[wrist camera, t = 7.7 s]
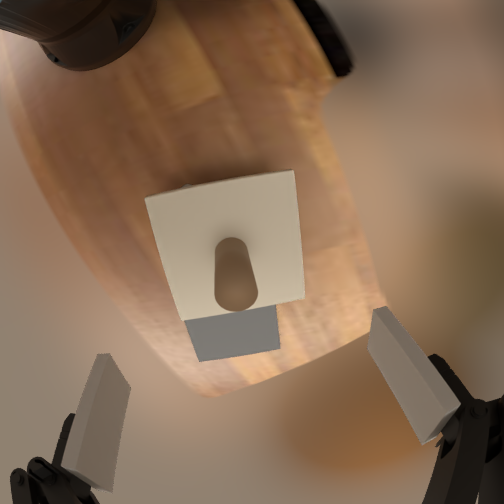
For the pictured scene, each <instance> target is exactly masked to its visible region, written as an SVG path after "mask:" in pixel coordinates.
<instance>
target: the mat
mask: <svg viewBox="0 0 504 504" xmlns="http://www.w3.org/2000/svg"><path fill="white" fill-rule="evenodd" d="M184 321H185V324H186V326H187V329H188V332H189V335H190V338H191V341H192V344H193V346H194V349H195V352H196V354H197V357H198V360H199V362H201V361H209V360H217V359H224V358H230V357H237V356H243V355H249V354H255V353H260V352H266V351H271V350H276V349H280V340H279V331H278V321H277V312H276V304H275V305H270V306H265V307H260V308H255V309H249V310H244V311H239V312H233V313H227V314H221V315H215V316H209V317H203V318H197V319H190V320H184Z"/></svg>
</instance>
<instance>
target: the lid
mask: <svg viewBox="0 0 504 504" xmlns="http://www.w3.org/2000/svg"><path fill="white" fill-rule="evenodd" d="M144 199H145V203H146V207H147V211H148V215H149V218H150V222H151V226H152V230H153V233H154V237H155V240H156V244H157V247H158V251H159V254H160V258H161V261H162V264H163V267H164V271H165V274H166V277H167V280H168V283H169V286H170V289H171V292H172V295H173V298H174V301H175V304H176V307H177V310H178V313H179V316H180V319H181V321H184V320H190V319H197V318H203V317H209V316H215V315H221V314H227V313H233V312H239V311H244V310H249V309H255V308H260V307H265V306H270V305H275V304H280V303H285V302H290V301H295V300H300V299H304V298H305V287H304V272H303V258H302V246H301V234H300V223H299V212H298V202H297V193H296V184H295V175H294V170H292V169H287V170H280V171H273V172H266V173H260V174H254V175H247V176H241V177H236V178H230V179H224V180H219V181H214V182H208V183H203V184H198V185H193V186H188V187H184V188H179V189H174V190H170V191H166V192H161V193H157V194H153V195H148V196H146V197H145V198H144Z"/></svg>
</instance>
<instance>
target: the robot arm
mask: <svg viewBox="0 0 504 504" xmlns="http://www.w3.org/2000/svg"><path fill="white" fill-rule="evenodd" d="M155 10H156V0H0V29H2V30H5V31H9V32H12V33H15V34H18V35H21V36H24V37H27V38H30V39H33V40H36V41H37V42H38V43H39V45H40V46H41V48H42V49H43V51H44V52H45V54H46V55H47V57H48V58H49V59H50V60H51V61H52V62H53V63H55V64H56V65H58V66H61V67H63V68H66V69H69V70H74V71H86V70H92V69H95V68H98V67H101V66H104V65H106V64H108V63H110V62H112V61H114V60H115V59H117V58H119V57H120V56H122V55H123V54H124V53H126V52H127V51H128V50H129V49H130V48H132V47H133V46H134V45H135V44H136V43H137V42H138V41H139V39H140V38H141V37H142V36H143V35H144V33H145V32H146V30H147V29H148V27H149V26H150V24H151V22H152V19H153V17H154V14H155ZM367 349H368V351H369V353H370V355H371V356H372V358H373V360H374V361H375V363H376V365H377V366H378V368H379V369H380V371H381V373H382V375H383V376H384V378H385V380H386V381H387V383H388V385H389V387H390V388H391V390H392V392H393V394H394V395H395V397H396V399H397V401H398V402H399V404H400V406H401V408H402V410H403V411H404V413H405V415H406V417H407V419H408V420H409V422H410V424H411V426H412V428H413V430H414V431H415V433H416V435H417V437H418V439H419V441H420V443H421V445H423V444H425V443H427V442H428V441H431V440H432V439H434V438H436V437H437V435H438V434H439V433H440V432H442V434H443V437H442V438H441V439H440V440H439V441H438V442H437V444H436V446H435V447H438V446H439V445H440V449H439V452H438V456H437V460H436V463H435V467H434V470H433V474H432V477H431V480H430V483H429V486H428V489H427V492H426V494H425V498H424V500H423V502H422V504H475V503H476V499H477V495H478V492H479V498H478V504H504V395H503V396H502V397H501V398H499V399H495V400H492V401H489V402H485V401H484V400H480V399H474V398H473V397H472V396H471V394H470V393H469V392H468V390H467V389H466V388H465V386H464V385H463V384H462V382H461V381H460V379H459V378H458V377H457V376H456V375H455V373H454V372H453V370H452V369H450V366H449V365H448V364H447V363H446V361H445V360H444V359H443V358H441V357H440V356H438V355H437V354H433V355H430V356H428V357H427V356H426V355H425V354H424V352H423V351H422V350H421V348H420V347H419V346H418V344H417V343H416V342H415V341H414V340H413V338H412V337H411V336H410V334H409V333H408V332H407V331H406V329H405V328H404V327H403V326H402V324H401V323H400V322H399V321H398V319H397V318H396V317H395V316H394V315H393V313H392V312H391V311H390V310H389V309H388V307H387V306H384V307H381V308H377V309H373V315H372V322H371V328H370V335H369V341H368V346H367ZM130 391H131V387H130V385H129V384H128V382H127V381H126V379H125V378H124V376H123V374H122V373H121V371H120V370H119V368H118V366H117V365H116V363H115V361H114V360H113V358H112V356H111V355H110V354H97V357H96V359H95V362H94V365H93V367H92V370H91V372H90V375H89V377H88V380H87V383H86V385H85V388H84V391H83V394H82V397H81V399H80V403H79V405H78V408H77V411H76V414H73V413H70V414H69V416H68V417H67V418H66V420H65V421H64V424H63V427H62V432H61V433H60V439H59V440H58V443H57V447H56V450H55V454H54V458H53V461H52V464H50V463H49V462H47V461H46V460H45V459H43V458H42V457H35V458H33V459H31V460H30V462H29V463H28V466H27V472H26V471H25V470H23V469H21V468H17V469H15V470H13V472H12V473H11V476H10V484H11V493H12V499H13V504H100V503H99V502H98V500H97V499H96V497H95V495H94V494H93V493H92V492H91V491H90V490H91V487H93V488H95V489H96V490H98V491H103V492H108V493H112V492H113V484H114V476H115V469H116V463H117V456H118V450H119V444H120V439H121V433H122V428H123V422H124V418H125V413H126V408H127V404H128V399H129V395H130Z"/></svg>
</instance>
